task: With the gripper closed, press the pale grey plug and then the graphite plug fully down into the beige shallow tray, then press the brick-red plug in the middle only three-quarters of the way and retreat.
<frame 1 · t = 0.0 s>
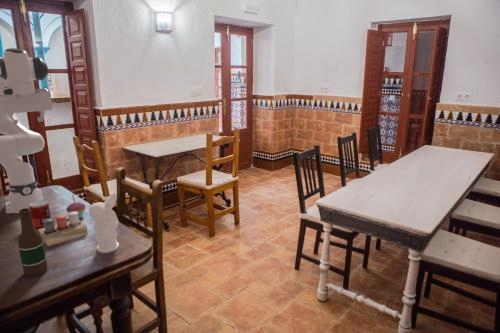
hand: (28, 122, 153), 48 cm above the table, tool pointing down, fingers open, 8 cm apart
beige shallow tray: (64, 236, 157), on the table
red plug: (61, 222, 155), point 6 cm above the table, slide at 0.0 cm
canned food: (42, 225, 168), on the table
graphite plug: (49, 226, 152), point 6 cm above the table, slide at 0.0 cm
grey plug: (73, 219, 158), point 6 cm above the table, slide at 0.0 cm
cupcake: (77, 217, 177), on the table
beer bottle: (36, 271, 130), on the table
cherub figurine: (106, 246, 148), on the table
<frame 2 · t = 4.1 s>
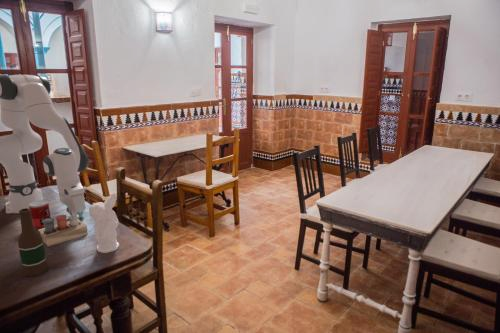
hand: (73, 216, 158), 8 cm above the table, tool pointing down, fingers closed, pressing on grey plug
grey plug: (74, 222, 159), point 5 cm above the table, slide at 1.3 cm, touching gripper
everything else where it was.
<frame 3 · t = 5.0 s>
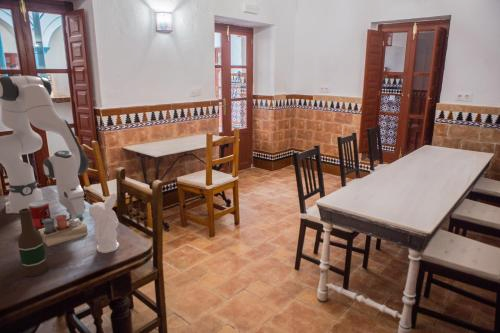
hand: (73, 218, 158), 7 cm above the table, tool pointing down, fingers closed
grey plug: (74, 226, 159), point 3 cm above the table, slide at 3.2 cm
everything else where it was.
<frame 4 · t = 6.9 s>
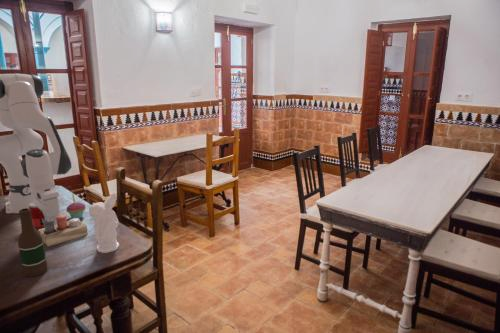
hand: (48, 220, 151), 9 cm above the table, tool pointing down, fingers closed, pressing on graphite plug
graphite plug: (49, 226, 152), point 6 cm above the table, slide at 0.2 cm, touching gripper
everything else where it was.
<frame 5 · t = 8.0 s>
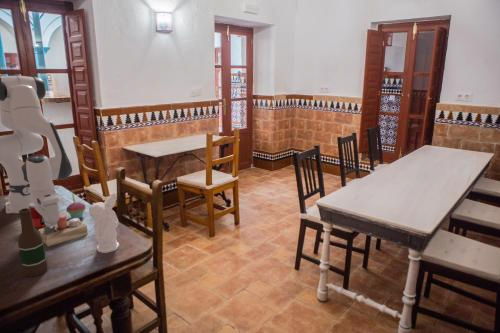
hand: (48, 225, 152), 7 cm above the table, tool pointing down, fingers closed
graphite plug: (50, 233, 153), point 3 cm above the table, slide at 3.2 cm
everything else where it was.
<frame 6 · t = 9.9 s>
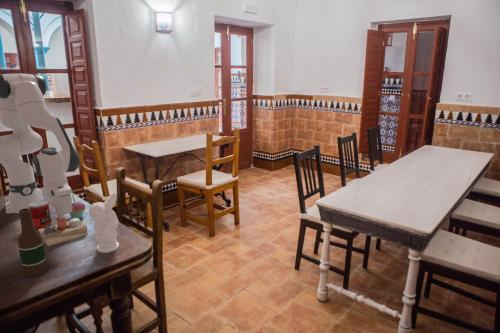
hand: (61, 217, 154), 9 cm above the table, tool pointing down, fingers closed, pressing on red plug
red plug: (62, 223, 155), point 6 cm above the table, slide at 0.3 cm, touching gripper
everything else where it was.
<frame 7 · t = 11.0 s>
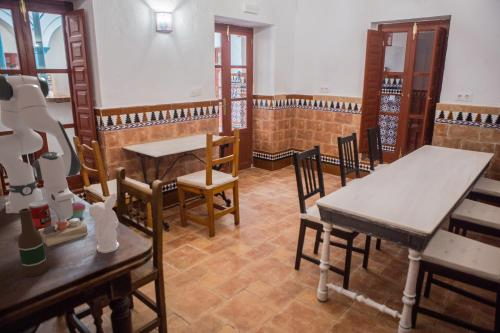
hand: (61, 221, 155), 7 cm above the table, tool pointing down, fingers closed
red plug: (62, 227, 156), point 4 cm above the table, slide at 2.2 cm
everything else where it was.
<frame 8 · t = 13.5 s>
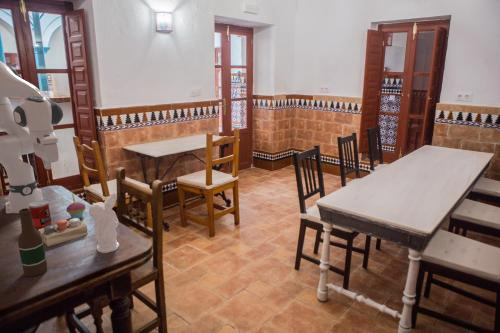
hand: (48, 168, 153), 29 cm above the table, tool pointing down, fingers closed
nothing on the table moved.
at the end: grey plug slide at 3.2 cm; graphite plug slide at 3.2 cm; red plug slide at 2.2 cm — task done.
